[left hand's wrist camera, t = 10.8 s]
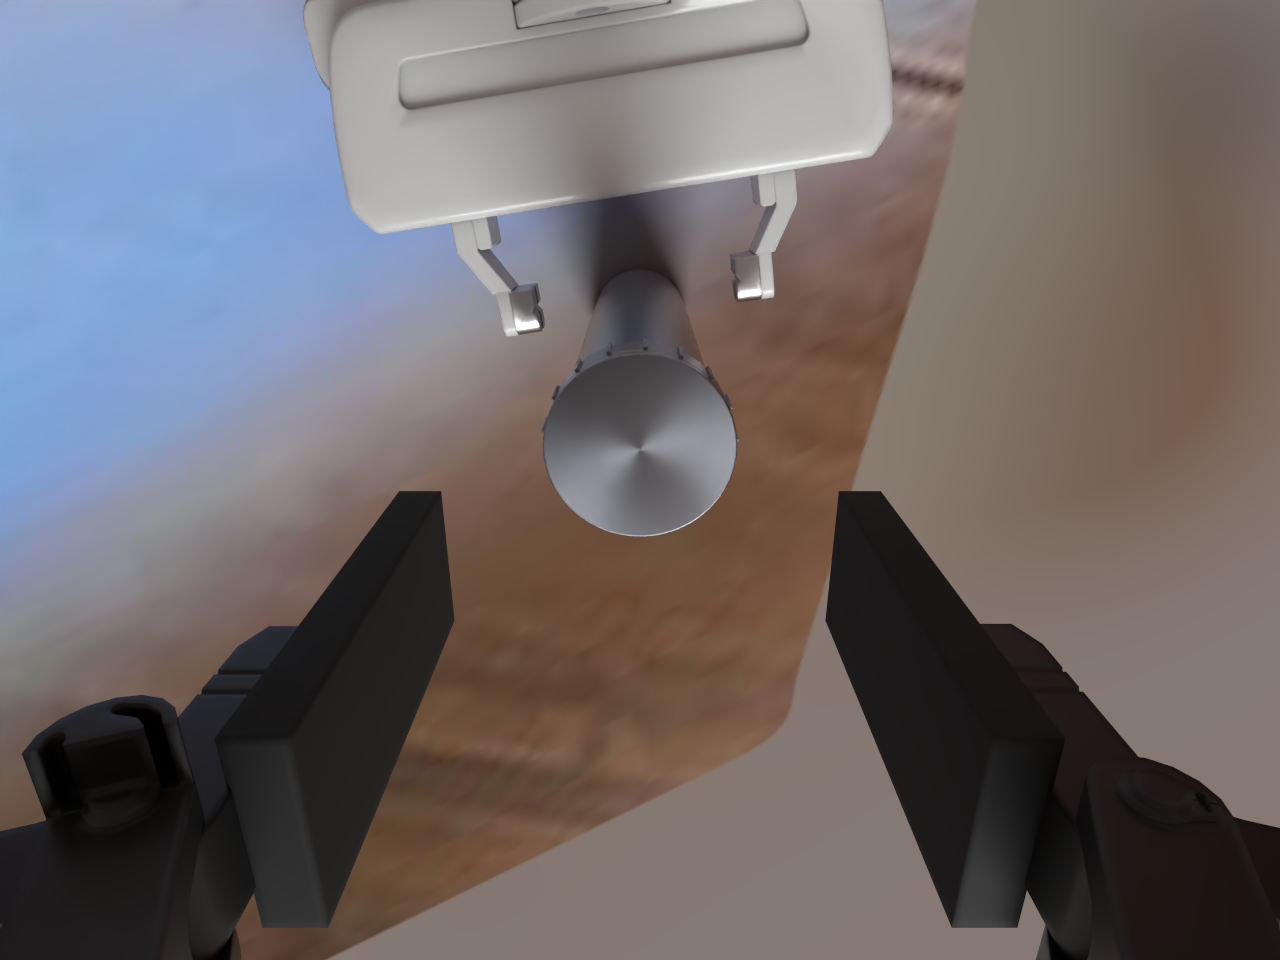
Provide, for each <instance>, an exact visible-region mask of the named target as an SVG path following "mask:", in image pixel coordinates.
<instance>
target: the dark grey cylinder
mask: <svg viewBox="0 0 1280 960" xmlns="http://www.w3.org/2000/svg"><path fill="white" fill-rule="evenodd" d="M643 338H647V341H649V342H656V343H661V344H665V345H669V346H672V347H674V348H678V346H680V347H682V350H683V352H685V353H687V354H688V355H690V356H692V357H693V358H695V359H696V360H697V361H699V362H700V363H701V364H702V365H703V366H704V363H703V360H702V357H701V354H700V351H699V348H698V345H697V342H696V339H695V335H694V332H693V329H692V326H691V323H690V320H689V317H688V314H687V311H686V308H685V305H684V302H683V299H682V297H681V295H680V293H679V291H678V289H677V288H676V287H675V285H674V284H673V283H672V282H671V281H670V280H668V279H667V278H666V277H664V276H663V275H661V274H659V273H657V272H654V271H650V270H644V269H636V270H630V271H626V272H623V273H621V274H619V275H617V276H616V277H614V278H613V279H612V280H610V281H609V282H608V283H607V284H606V285H605V287H604V288H603V289H602V291H601V293H600V294H599V297H598V299H597V302H596V305H595V308H594V311H593V314H592V317H591V320H590V323H589V326H588V329H587V332H586V335H585V339H584V342H583V345H582V348H581V351H580V354H579V357H578V360H579V359H581V361H583V360H584V359H585V358H587V357H588V356H590V355H592V354H593V353H595V352H597V351H599V350H601V349H603V348H606V347H607V345H608V343H612V345H615V344H619V343H624V342H631V341H643ZM578 360H577V361H578ZM704 367H705V366H704Z"/></svg>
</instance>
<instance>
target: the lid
mask: <svg viewBox="0 0 1280 960" xmlns="http://www.w3.org/2000/svg"><path fill="white" fill-rule="evenodd" d="M552 399H553V400H554V401H553V403H552V406H551V409H550V411H549V414H548V417H546V420H545V422H544V425H543V428H542V432H544V435H543V455H544V461H545V466H546V469H547V472H548V475H549V478H550V480H551V482H552V484H553V486H554V488H555V490H556V491H557V493H558V494H559V496H560V497H561V499H562V500H563V501H564V502H565V503H566V504H567V506H568V507H569V508H570V509H571V510H573V511H574V512H575V513H576V514H577V515H578V516H580V517H581V518H583V519H584V520H586V521H587V522H589V523H591V524H592V525H594V526H596V527H598V528H601V529H603V530H606V531H609V532H612V533H616V534H620V535H627V536H653V535H660V534H664V533H668V532H671V531H674V530H677V529H679V528H682V527H684V526H686V525H688V524H690V523H692V522H693V521H694V520H696V519H697V518H699V517H700V516H702V515H703V514H704V513H705V512H706V511H707V510H709V509H710V508H711V507H712V506H713V504H714V503H715V502H716V501H717V500H718V499H719V497H720V496H721V494H722V493H723V491H724V490H725V488H726V486H727V484H728V482H729V480H730V478H731V475H732V472H733V469H734V466H735V461H736V456H737V442H738V436H737V433H736V428H735V424H734V420H733V417H732V414H731V411H730V409H732V408H733V407H732V405H731V402H730V400H729V397H728V395H727V394H726V395H724V393H723V391H722V389H721V387H720V386H719V384H718V382H717V381H716V379H715V378H714V377H713V374H712V371H711V368H710V367H709V366H707V367H706V368H705V367H704V366H703V365H702V364H701V363H700V362H699V361H697V360H696V359H695V358H693V357H692V356H690V355H688V354H687V353H685V352H683V350H682V347H680V346H678V348H674V347H672V346H669V345H665V344H661V343H656V342H649V341H647V338H643V341H631V342H624V343H619V344H615V345H612V343H608V345H607V347H606V348H603V349H601V350H599V351H597V352H595V353H593V354H592V355H590V356H588V357H587V358H585V359H584V360H583V361H581V359H579V360H578V361H577V363H576V366H575V368H574V369H573V370H572V371H571V372H570V373H569V374H568V375H567V377H566V378H565V379H564V381H563V382H562V384H561V386H558V385H557V386H556V388H555V391H554V393H553V396H552Z"/></svg>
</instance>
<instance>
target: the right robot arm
mask: <svg viewBox="0 0 1280 960" xmlns="http://www.w3.org/2000/svg"><path fill="white" fill-rule="evenodd" d="M303 19H304V26H305V30H306V33H307V37H308V41H309V44H310V48H311V52H312V56H313V59H314V63H315V67H316V69H317V72H318V74H319V76H320V78H321V80H322V82H323V83H324V84H325V86H326V87H327V88H328V89H329V91H330V98H331V107H332V116H333V123H334V130H335V138H336V144H337V150H338V155H339V161H340V166H341V171H342V176H343V181H344V186H345V190H346V194H347V198H348V202H349V205H350V208H351V209H352V211H353V212H354V214H355V215H356V216H357V217H358V218H360V219H361V220H362V221H363V222H364V223H365V224H366V225H368V226H369V227H370V228H371V229H372V230H374V231H375V232H376V233H379V234H384V233H390V232H397V231H403V230H409V229H416V228H422V227H428V226H435V225H441V224H448V223H451V225H452V229H453V234H454V238H455V243H456V247H457V252H458V255H459V256H460V257H461V258H462V259H463V261H464V262H465V263H466V264H467V265H468V266H469V267H470V269H471V270H472V271H473V272H474V273H475V274H476V275H477V277H478V278H479V279H480V280H481V281H482V282H483V284H484V285H485V286H486V287H487V288H488V289H489V290H490V292H491V293H492V294H496V297H497V301H498V306H499V311H500V315H501V320H502V325H503V329H504V332H505V334H506V336H515V335H521V334H527V333H533V332H539V331H542V328H544V326H545V322H544V315H543V310H542V308H541V307H540V306H539V305H538V303H539V301H540V294H539V289H538V284H537V283H534V284H527V285H519V286H517V285H518V284H517V282H516V281H515V280H514V279H513V277H512V276H511V275H510V274H509V272H508V271H507V270H506V269H505V267H504V266H503V265H502V264H501V262H500V261H499V260H498V259H497V257H496V256H495V255H494V254H493V252H492V251H491V250H490V249H491V248H492V247H494V246H496V245H498V244H499V243H500V242H501V237H500V232H499V227H498V221H497V216H499V215H505V214H511V213H518V212H524V211H530V210H537V209H543V208H549V207H556V206H562V205H569V204H575V203H581V202H588V201H594V200H600V199H607V198H613V197H619V196H626V195H632V194H639V193H645V192H651V191H658V190H664V189H670V188H677V187H683V186H690V185H696V184H702V183H709V182H715V181H721V180H728V179H734V178H740V177H747V176H751V185H752V195H753V202H754V203H755V204H757V205H760V206H767V207H766V210H765V212H764V214H763V217H762V219H761V222H760V224H759V226H758V229H757V231H756V233H755V236H754V238H753V241H752V243H751V245H750V248H749V250H750V251H744V252H738V253H732V254H730V264H731V271H732V272H733V273H734V274H735V277H734V279H733V281H732V284H733V292H734V297H735V299H737V302H743V301H750V300H758V299H764V298H771V297H774V278H773V266H772V254H771V252H775V250H776V247H777V245H778V243H779V241H780V239H781V236H782V234H783V232H784V230H785V228H786V225H787V223H788V221H789V219H790V217H791V215H792V212H793V210H794V208H795V206H796V204H797V193H796V177H795V169H798V168H804V167H810V166H817V165H823V164H830V163H836V162H842V161H849V160H855V159H861V158H867V157H871V156H872V155H873V154H874V153H875V152H876V151H877V149H878V148H879V146H880V145H881V143H882V142H883V140H884V139H885V137H886V135H887V133H888V132H889V130H890V128H891V125H892V121H893V85H892V70H891V58H890V49H889V40H888V32H887V24H886V16H885V10H884V4H883V0H306V3H305V5H304V11H303Z"/></svg>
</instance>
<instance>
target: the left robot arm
mask: <svg viewBox="0 0 1280 960" xmlns="http://www.w3.org/2000/svg"><path fill="white" fill-rule="evenodd" d="M453 623H454V611H453V602H452V592H451V583H450V573H449V563H448V554H447V544H446V535H445V525H444V515H443V506H442V496H441V491H399V492H398V494H397V495H396V496H395V498H394V499H393V500H392V502H391V503H390V504H389V506H388V507H387V508H386V510H385V511H384V512H383V514H382V515H381V516H380V518H379V519H378V520H377V522H376V523H375V524H374V526H373V527H372V528H371V530H370V531H369V532H368V534H367V535H366V536H365V538H364V539H363V540H362V542H361V543H360V544H359V546H358V547H357V549H356V550H355V551H354V553H353V554H352V555H351V557H350V558H349V559H348V561H347V562H346V563H345V565H344V566H343V567H342V569H341V570H340V571H339V573H338V574H337V575H336V577H335V578H334V579H333V581H332V582H331V583H330V585H329V586H328V587H327V589H326V590H325V591H324V593H323V594H322V595H321V597H320V598H319V599H318V601H317V602H316V603H315V605H314V606H313V607H312V609H311V610H310V611H309V613H308V614H307V615H306V617H305V618H304V619H303V621H302V622H301V623H300V625H299V626H269V627H267V628H266V629H264V630H263V631H261V632H260V633H258V634H256V635H255V636H253V637H252V638H250V639H249V640H247V641H246V642H244V643H243V644H241V645H240V646H238V647H237V648H236V649H235V651H234V652H233V653H232V654H231V655H230V657H229V658H228V659H227V660H226V661H225V663H224V664H223V665H222V666H221V667H220V668H219V670H218V675H214V676H213V677H212V678H211V679H210V680H209V682H208V683H207V684H206V685H205V686H204V687H203V689H202V694H198V695H197V696H196V697H195V698H194V699H193V701H192V702H191V703H190V704H189V705H188V706H187V708H186V709H185V710H184V711H183V712H182V714H181V715H180V716H179V717H177V714H176V710H175V707H174V706H172V705H171V704H170V703H168V702H167V701H166V700H164V699H163V698H157V697H151V696H145V695H139V696H129V697H119V698H114V699H110V700H107V701H103V702H100V703H96V704H93V705H89V706H86V707H84V708H82V709H80V710H78V711H76V712H74V713H72V714H70V715H67V716H65V717H63V718H61V719H59V720H58V721H56V722H55V723H54V724H52V725H51V726H49V727H48V728H47V729H45V730H44V731H42V732H41V733H40V734H38V735H37V736H36V737H35V738H34V739H33V741H32V742H31V743H30V744H29V746H28V747H27V748H26V749H25V750H24V752H23V753H22V755H23V758H24V761H25V763H26V766H27V769H28V771H29V774H30V777H31V779H32V782H33V785H34V787H35V790H36V793H37V795H38V798H39V800H40V803H41V806H42V808H43V811H44V814H45V816H46V821H42V822H39V823H35V824H31V825H27V826H22V827H18V828H13V829H9V830H5V831H0V960H241V951H240V945H239V939H238V935H237V932H236V928H235V926H236V925H237V923H238V921H239V919H240V917H241V915H242V913H243V911H244V910H245V908H246V906H247V904H248V902H249V900H250V898H251V897H252V895H253V893H254V895H255V899H256V903H257V907H258V911H259V915H260V919H261V923H262V927H263V928H328V927H329V924H330V922H331V919H332V917H333V915H334V912H335V910H336V907H337V905H338V902H339V900H340V898H341V895H342V893H343V890H344V888H345V885H346V883H347V881H348V878H349V876H350V873H351V871H352V868H353V866H354V864H355V861H356V859H357V856H358V854H359V851H360V849H361V846H362V844H363V842H364V839H365V837H366V834H367V832H368V829H369V827H370V825H371V822H372V820H373V817H374V815H375V812H376V810H377V808H378V805H379V803H380V800H381V798H382V795H383V793H384V791H385V788H386V786H387V783H388V781H389V778H390V776H391V774H392V771H393V769H394V766H395V764H396V761H397V759H398V757H399V754H400V752H401V749H402V747H403V744H404V742H405V739H406V737H407V735H408V732H409V730H410V727H411V725H412V722H413V720H414V718H415V715H416V713H417V710H418V708H419V705H420V703H421V701H422V698H423V696H424V693H425V691H426V688H427V686H428V684H429V681H430V679H431V676H432V674H433V671H434V669H435V667H436V664H437V662H438V659H439V657H440V654H441V652H442V650H443V647H444V645H445V642H446V640H447V637H448V635H449V633H450V630H451V628H452V625H453ZM826 623H827V625H828V628H829V630H830V633H831V635H832V637H833V640H834V642H835V645H836V647H837V649H838V652H839V654H840V657H841V659H842V662H843V664H844V666H845V669H846V671H847V674H848V676H849V679H850V681H851V684H852V686H853V688H854V691H855V693H856V696H857V698H858V701H859V703H860V705H861V708H862V710H863V713H864V715H865V718H866V720H867V722H868V725H869V727H870V730H871V732H872V735H873V737H874V739H875V742H876V744H877V747H878V749H879V752H880V754H881V757H882V759H883V761H884V764H885V766H886V769H887V771H888V773H889V776H890V778H891V781H892V783H893V786H894V788H895V791H896V793H897V795H898V798H899V800H900V803H901V805H902V808H903V810H904V812H905V815H906V817H907V820H908V822H909V825H910V827H911V829H912V832H913V834H914V837H915V839H916V842H917V844H918V846H919V849H920V851H921V854H922V856H923V859H924V861H925V864H926V866H927V868H928V871H929V873H930V876H931V878H932V881H933V883H934V885H935V888H936V890H937V893H938V895H939V897H940V900H941V902H942V905H943V907H944V910H945V912H946V915H947V917H948V919H949V922H950V924H951V927H952V928H1017V927H1018V923H1019V919H1020V915H1021V911H1022V907H1023V903H1024V899H1025V895H1026V892H1027V891H1028V893H1029V894H1030V896H1031V898H1032V900H1033V902H1034V904H1035V906H1036V907H1037V909H1038V911H1039V913H1040V915H1041V917H1042V919H1043V920H1044V922H1045V924H1046V925H1045V928H1044V932H1043V935H1042V939H1041V943H1040V947H1039V950H1038V954H1037V957H1036V960H1280V828H1277V827H1273V826H1268V825H1264V824H1259V823H1255V822H1250V821H1246V820H1242V819H1239V818H1235V817H1233V816H1232V814H1231V813H1230V811H1229V810H1228V809H1227V807H1226V806H1225V804H1224V803H1223V801H1222V800H1221V799H1220V798H1219V797H1218V796H1217V795H1215V794H1214V793H1213V792H1212V791H1211V790H1209V789H1208V788H1207V787H1206V786H1205V785H1203V784H1202V783H1201V782H1200V781H1198V780H1196V779H1194V778H1192V777H1191V776H1189V775H1187V774H1185V773H1183V772H1181V771H1179V770H1177V769H1176V768H1174V767H1171V766H1168V765H1165V764H1162V763H1159V762H1156V761H1153V760H1150V759H1147V758H1140V757H1138V756H1137V755H1136V754H1135V752H1134V751H1133V750H1132V749H1131V748H1130V747H1129V745H1128V744H1127V743H1126V742H1125V741H1124V739H1123V738H1122V737H1121V736H1120V735H1119V734H1118V732H1117V731H1116V730H1115V729H1114V728H1113V727H1112V725H1111V724H1110V723H1109V722H1108V721H1107V719H1106V718H1105V717H1104V716H1103V715H1102V714H1101V712H1100V711H1099V710H1098V709H1097V708H1096V706H1095V705H1094V704H1093V703H1092V702H1091V701H1090V699H1089V698H1088V697H1087V696H1086V695H1085V693H1084V692H1079V686H1078V685H1077V684H1076V683H1075V682H1074V681H1073V679H1072V678H1071V677H1070V676H1069V675H1068V674H1067V672H1063V671H1062V666H1061V665H1060V664H1059V663H1058V662H1057V660H1056V659H1055V658H1054V657H1053V656H1052V655H1051V653H1050V652H1049V651H1048V650H1047V649H1046V647H1045V646H1044V645H1043V644H1042V643H1040V642H1039V641H1037V640H1035V639H1034V638H1032V637H1031V636H1029V635H1028V634H1026V633H1025V632H1023V631H1022V630H1020V629H1019V628H1017V627H1015V626H1014V625H1012V624H980V623H979V622H978V621H977V619H976V618H975V617H974V615H973V614H972V613H971V611H970V610H969V609H968V607H967V606H966V605H965V603H964V602H963V601H962V599H961V598H960V597H959V595H958V594H957V593H956V591H955V590H954V589H953V587H952V586H951V585H950V583H949V582H948V581H947V579H946V578H945V577H944V575H943V574H942V573H941V571H940V570H939V569H938V567H937V566H936V565H935V563H934V562H933V561H932V559H931V558H930V557H929V555H928V554H927V553H926V551H925V550H924V549H923V547H922V546H921V545H920V543H919V542H918V541H917V539H916V538H915V537H914V535H913V534H912V532H911V531H910V530H909V528H908V527H907V526H906V524H905V523H904V522H903V520H902V519H901V518H900V516H899V515H898V514H897V512H896V511H895V510H894V508H893V507H892V506H891V504H890V503H889V502H888V500H887V499H886V498H885V496H884V495H883V494H882V492H881V491H839V496H838V506H837V515H836V525H835V535H834V544H833V554H832V563H831V573H830V583H829V592H828V602H827V611H826Z"/></svg>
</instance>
